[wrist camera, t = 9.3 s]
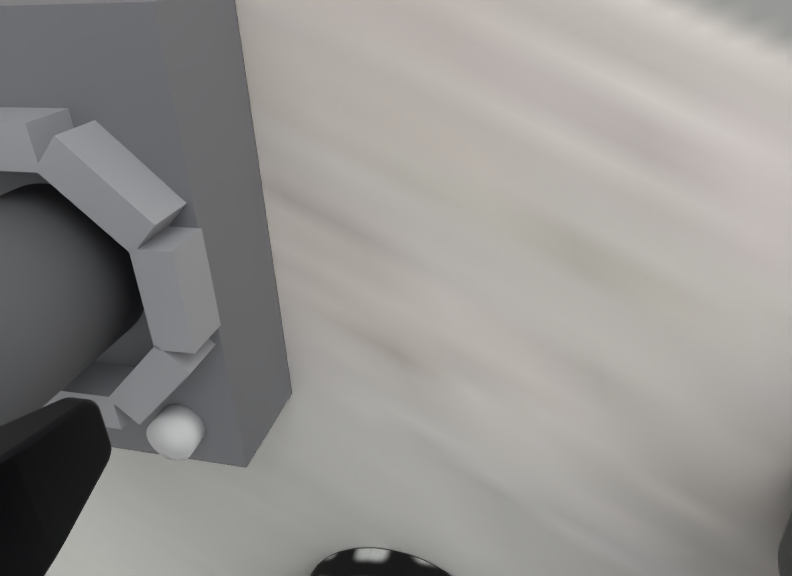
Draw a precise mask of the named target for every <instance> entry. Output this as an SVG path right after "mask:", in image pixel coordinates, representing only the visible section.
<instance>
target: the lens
mask: <svg viewBox="0 0 792 576" xmlns="http://www.w3.org/2000/svg"><path fill="white" fill-rule="evenodd" d="M143 310H144V307H143V303H142V299H141V295H140V291H139V288H138V284H137V280H136V276H135V272H134V268H133V265H132V261H131V257H130V253H129V252H128V251H127V250H126V249H125V248H124V247H123V246H121V245H120V244H119V243H118V242H117V241H116V240H115V239H113V238H112V237H111V236H110V235H109V234H108V233H106V232H105V231H104V230H103V229H102V228H101V227H100V226H98V225H97V224H96V223H95V222H94V221H93V220H92V219H90V218H89V217H88V216H87V215H86V214H85V213H83V212H82V211H81V210H80V209H79V208H78V207H77V206H75V205H74V204H73V203H72V202H71V201H70V200H69V199H67V198H66V197H65V196H64V195H63V194H62V193H61V192H59V191H58V190H57V189H56V188H55V187H54V186H52V185H51V184H45V183H37V184H28V185H24V186H21V187H19V188H16V189H14V190H12V191H9V192H7V193H5V194H3V195H0V426H1V425H4V424H6V423H8V422H10V421H13V420H15V419H17V418H20V417H22V416H24V415H26V414H29V413H31V412H33V411H35V410H38V409H40V408H42V407H43V406H44V405H45V404H47V403H48V402H49V401H50V400H51V399H52V398H53V397H54V396H55V395H57V394H58V393H59V392H60V391H61V390H62V389H63V388H64V387H66V386H67V385H68V384H69V383H70V382H71V381H72V380H73V379H74V378H76V377H77V376H78V375H79V374H80V373H81V372H82V371H83V370H85V369H86V368H87V367H88V366H89V365H90V364H91V363H92V362H94V361H95V360H96V359H97V358H98V357H99V356H100V355H101V354H102V353H104V352H105V351H106V350H107V349H108V348H109V347H110V346H111V345H113V344H114V343H115V342H116V341H117V340H118V339H119V338H120V337H121V336H123V335H124V334H125V333H126V332H127V331H128V330H129V329H130V328H132V326H133V325H134V324H135V323H136V322H137V321H138V320H139V318H140V317H141V315H142V313H143Z"/></svg>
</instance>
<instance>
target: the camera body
mask: <svg viewBox="0 0 792 576" xmlns="http://www.w3.org/2000/svg"><path fill="white" fill-rule="evenodd" d="M37 183H45V184H51V185H52V186H54V187H55V188H56V189H57V190H58V191H59V192H61V193H62V194H63V195H64V196H65V197H66V198H67V199H69V200H70V201H71V202H72V203H73V204H74V205H75V206H77V207H78V208H79V209H80V210H81V211H82V212H83V213H85V214H86V215H87V216H88V217H89V218H90V219H92V220H93V221H94V222H95V223H96V224H97V225H98V226H100V227H101V228H102V229H103V230H104V231H105V232H106V233H108V234H109V235H110V236H111V237H112V238H113V239H115V240H116V241H117V242H118V243H119V244H120V245H121V246H123V247H124V248H125V249H126V250H127V251H128V252H129V253H130V257H131V261H132V265H133V268H134V272H135V276H136V280H137V284H138V288H139V291H140V295H141V299H142V303H143V307H144V310H143V313H142V315H141V317H140V318H139V320H138V321H137V322H136V323H135V324H134V325H133V326H132V328H130V329H129V330H128V331H127V332H126V333H125V334H124V335H123V336H121V337H120V338H119V339H118V340H117V341H116V342H115V343H114V344H113V345H111V346H110V347H109V348H108V349H107V350H106V351H105V352H104V353H102V354H101V355H100V356H99V357H98V358H97V359H96V360H95V361H94V362H92V363H91V364H90V365H89V366H88V367H87V368H86V369H85V370H83V371H82V372H81V373H80V374H79V375H78V376H77V377H76V378H74V379H73V380H72V381H71V382H70V383H69V384H68V385H67V386H66V387H64V388H63V389H62V390H61V391H60V392H59V393H58V394H57V395H55V396H54V397H53V398H52V399H51V400H50V401H49V402H48V403H47V404H45V405H44V406H47V405H49V404H51V403H54V402H56V401H58V400H60V399H63V398H67V397H74V398H82V399H89V400H92V401H95V402H96V404H97V405H98V406H99V408H100V410H101V413H102V417H103V420H104V423H105V426H106V429H107V432H108V435H109V438H110V441H111V447H115V448H122V449H128V450H135V451H142V452H148V453H155V454H161V455H162V456H164V457H166V458H169V459H172V460H185V459H194V460H201V461H207V462H214V463H220V464H227V465H233V466H240V467H247V466H248V464H249V463H250V461H251V459H252V458H253V456H254V454H255V453H256V451H257V449H258V448H259V446H260V445H261V443H262V441H263V440H264V438H265V436H266V435H267V433H268V431H269V430H270V428H271V427H272V425H273V423H274V422H275V420H276V418H277V417H278V415H279V414H280V412H281V410H282V409H283V407H284V405H285V404H286V402H287V400H288V399H289V397H290V396H291V394H292V391H291V384H290V377H289V370H288V363H287V356H286V349H285V343H284V336H283V329H282V322H281V315H280V308H279V301H278V295H277V288H276V281H275V274H274V267H273V260H272V253H271V247H270V240H269V233H268V226H267V219H266V212H265V205H264V199H263V192H262V185H261V178H260V171H259V164H258V157H257V151H256V144H255V137H254V130H253V123H252V116H251V109H250V102H249V96H248V89H247V82H246V75H245V68H244V61H243V54H242V48H241V41H240V34H239V27H238V20H237V13H236V6H235V0H0V195H3V194H5V193H7V192H9V191H12V190H14V189H16V188H19V187H21V186H24V185H28V184H37ZM44 406H43V407H44Z"/></svg>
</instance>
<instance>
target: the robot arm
mask: <svg viewBox="0 0 792 576" xmlns="http://www.w3.org/2000/svg"><path fill="white" fill-rule="evenodd" d="M110 455H111V441H110V438H109V435H108V432H107V429H106V426H105V423H104V420H103V417H102V413H101V410H100V408H99V406H98V405H97V404H96V402H95V401H92V400H89V399H82V398H74V397H67V398H63V399H60V400H58V401H56V402H54V403H51V404H49V405H47V406H44V407H42V408H40V409H38V410H35V411H33V412H31V413H29V414H26V415H24V416H22V417H20V418H17V419H15V420H13V421H10V422H8V423H6V424H4V425H1V426H0V576H44V575H45V574H46V572H47V571H48V569H49V567H50V566H51V564H52V563H53V561H54V560H55V558H56V556H57V555H58V553H59V551H60V549H61V548H62V546H63V544H64V542H65V541H66V539H67V537H68V535H69V533H70V531H71V529H72V528H73V526H74V524H75V522H76V520H77V518H78V517H79V515H80V513H81V511H82V509H83V507H84V505H85V504H86V502H87V500H88V498H89V496H90V494H91V492H92V491H93V489H94V487H95V485H96V483H97V481H98V480H99V478H100V476H101V474H102V472H103V470H104V468H105V467H106V465H107V463H108V461H109V458H110ZM778 566H779V573H780V576H792V511H791V513H790V516H789V519H788V522H787V525H786V527H785V530H784V533H783V536H782V539H781V541H780V545H779V550H778Z"/></svg>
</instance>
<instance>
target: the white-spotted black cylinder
mask: <svg viewBox="0 0 792 576" xmlns="http://www.w3.org/2000/svg"><path fill="white" fill-rule="evenodd" d="M311 576H450V575H448V574H447V573H446V572H444V571H443V570H441V569H439V568H437V567H435V566H434V565H432V564H430V563H428V562H426V561H423V560H421V559H418V558H416V557H413V556H411V555H407V554H403V553H399V552H395V551H391V550H383V549H375V548H366V549H352V550H347V551H342V552H339V553H337V554H334V555H332V556H330V557H328V558H326V559H325V560H324V561H322V562H321V563H320V564H318V565H317V567H316V568H315V570H314V571H313V572H312V574H311Z"/></svg>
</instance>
